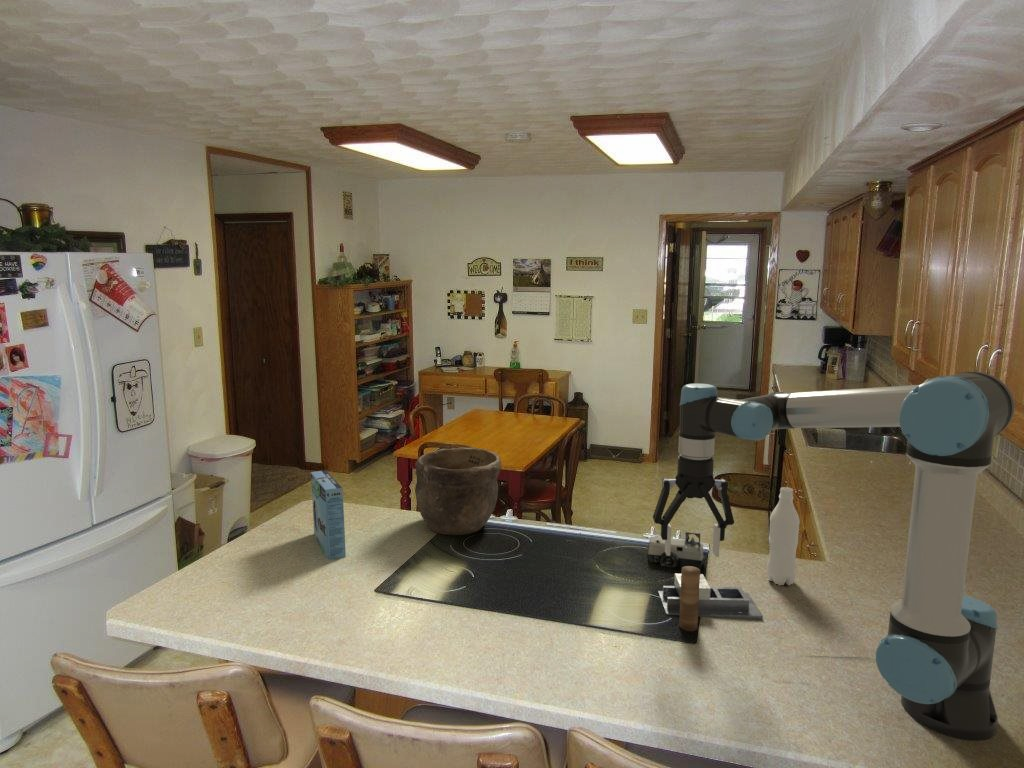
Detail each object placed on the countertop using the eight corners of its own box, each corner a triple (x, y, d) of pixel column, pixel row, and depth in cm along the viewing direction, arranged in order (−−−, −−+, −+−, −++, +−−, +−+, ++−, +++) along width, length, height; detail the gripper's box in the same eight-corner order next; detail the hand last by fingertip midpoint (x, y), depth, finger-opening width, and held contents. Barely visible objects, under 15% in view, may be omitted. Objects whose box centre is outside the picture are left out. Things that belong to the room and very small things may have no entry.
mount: (762, 620, 163) (763, 605, 162) (666, 617, 164) (666, 603, 163) (747, 596, 174) (748, 583, 174) (657, 594, 175) (658, 581, 175)
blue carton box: (346, 570, 189) (343, 487, 186) (327, 573, 187) (324, 490, 184) (331, 545, 207) (328, 469, 203) (313, 548, 204) (310, 471, 201)
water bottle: (797, 589, 179) (804, 494, 175) (768, 586, 180) (774, 492, 176) (792, 577, 186) (799, 485, 182) (764, 575, 187) (769, 483, 183)
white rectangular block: (710, 599, 165) (710, 581, 164) (680, 599, 165) (681, 581, 164) (702, 584, 172) (703, 567, 172) (674, 584, 173) (674, 567, 172)
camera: (645, 568, 192) (646, 533, 190) (650, 558, 199) (651, 523, 197) (702, 576, 186) (704, 540, 185) (705, 565, 193) (706, 530, 192)
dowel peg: (699, 633, 156) (701, 573, 154) (680, 633, 157) (683, 573, 154) (695, 624, 160) (697, 566, 158) (677, 624, 161) (679, 565, 158)
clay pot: (468, 559, 196) (468, 472, 193) (397, 541, 210) (396, 459, 206) (517, 531, 219) (517, 452, 215) (450, 516, 232) (449, 442, 228)
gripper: (743, 451, 156) (738, 548, 159) (641, 450, 157) (638, 546, 160) (753, 460, 148) (748, 561, 152) (646, 459, 149) (642, 559, 153)
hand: (691, 553), depth 156 cm, fingers open, 10 cm apart
